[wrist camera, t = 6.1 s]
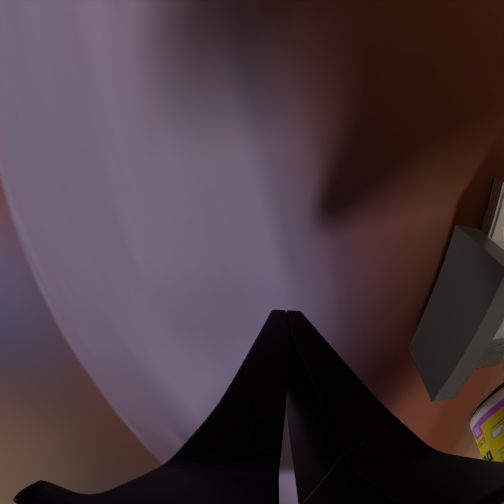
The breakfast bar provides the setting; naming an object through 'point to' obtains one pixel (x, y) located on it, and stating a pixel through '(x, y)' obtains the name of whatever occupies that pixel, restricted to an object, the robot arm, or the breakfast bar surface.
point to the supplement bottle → (490, 427)
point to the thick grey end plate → (460, 313)
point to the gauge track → (500, 231)
